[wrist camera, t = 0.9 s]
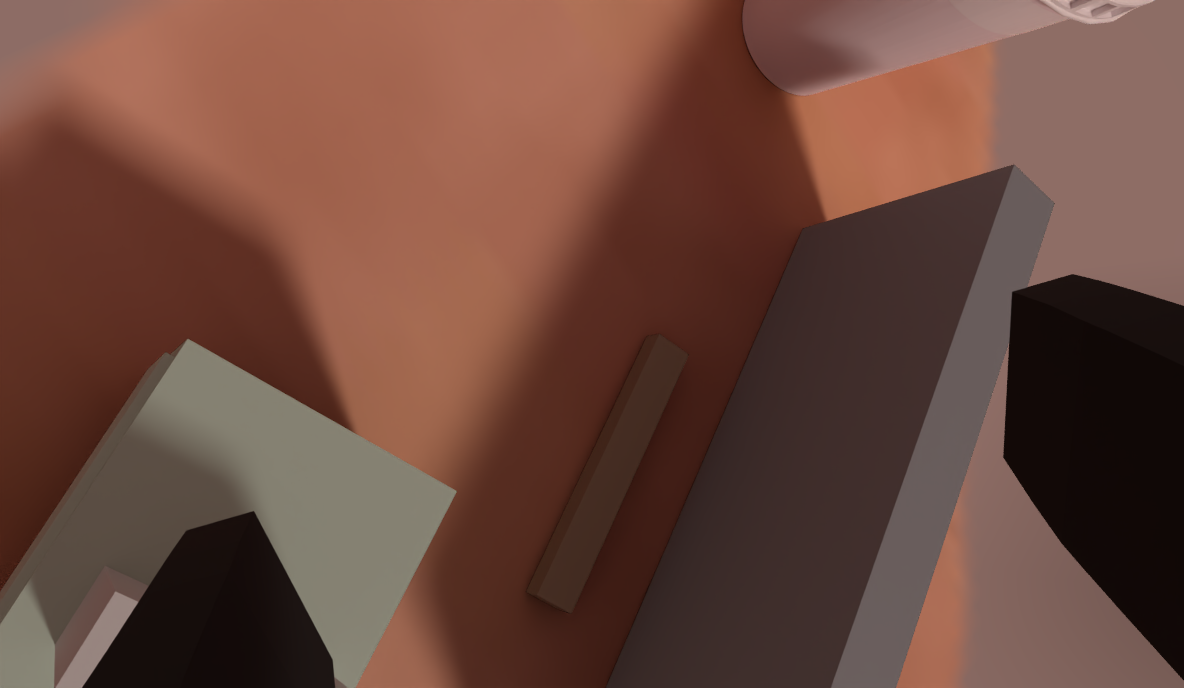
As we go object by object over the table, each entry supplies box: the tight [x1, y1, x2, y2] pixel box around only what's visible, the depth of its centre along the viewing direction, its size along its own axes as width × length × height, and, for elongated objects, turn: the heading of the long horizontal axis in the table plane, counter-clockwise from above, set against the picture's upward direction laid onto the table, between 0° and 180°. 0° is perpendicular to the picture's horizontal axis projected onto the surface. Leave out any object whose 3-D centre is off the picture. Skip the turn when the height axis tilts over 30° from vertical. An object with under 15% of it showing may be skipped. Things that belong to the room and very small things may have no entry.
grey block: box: [0, 339, 457, 688], centre depth 15 cm, size 8×5×8 cm, turn 150°
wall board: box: [526, 165, 1055, 688], centre depth 21 cm, size 18×4×7 cm, turn 150°
